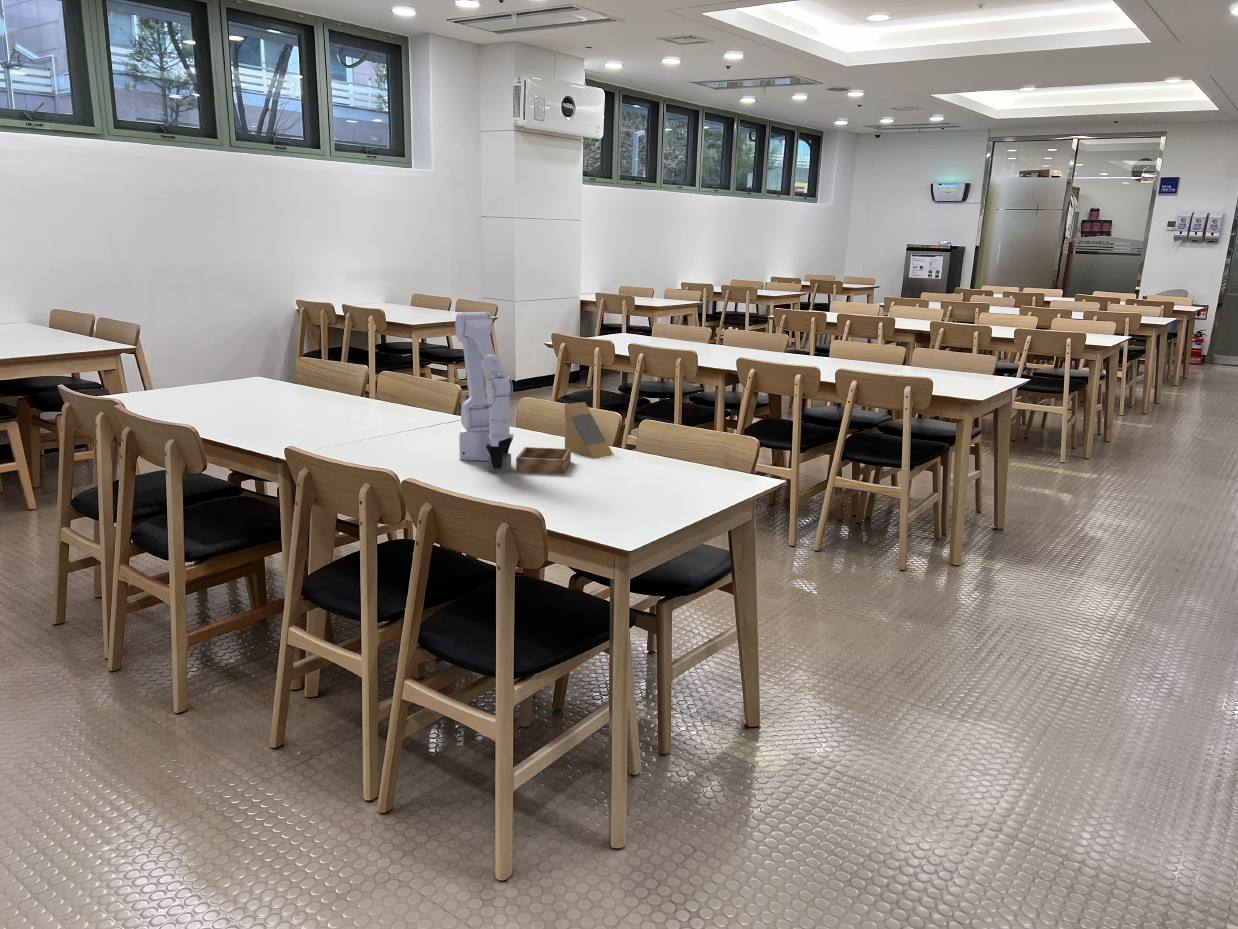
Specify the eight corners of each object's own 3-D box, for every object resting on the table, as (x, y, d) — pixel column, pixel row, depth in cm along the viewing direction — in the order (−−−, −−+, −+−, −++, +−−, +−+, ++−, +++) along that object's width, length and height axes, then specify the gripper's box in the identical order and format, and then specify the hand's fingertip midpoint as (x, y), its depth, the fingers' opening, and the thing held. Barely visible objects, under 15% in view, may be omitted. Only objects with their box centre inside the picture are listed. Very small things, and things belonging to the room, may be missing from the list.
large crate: (516, 471, 252) (516, 458, 251) (525, 459, 265) (525, 447, 264) (564, 473, 251) (564, 460, 250) (570, 461, 264) (570, 448, 263)
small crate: (488, 472, 251) (488, 457, 250) (492, 467, 256) (492, 452, 255) (507, 473, 250) (507, 458, 249) (511, 468, 256) (511, 453, 255)
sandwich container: (594, 459, 269) (595, 411, 265) (563, 450, 280) (564, 404, 276) (615, 455, 274) (616, 408, 270) (584, 446, 285) (585, 401, 281)
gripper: (508, 424, 242) (508, 472, 246) (518, 414, 256) (518, 459, 260) (483, 423, 243) (483, 470, 246) (494, 414, 257) (494, 458, 260)
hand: (499, 465), depth 253 cm, fingers open, 7 cm apart
